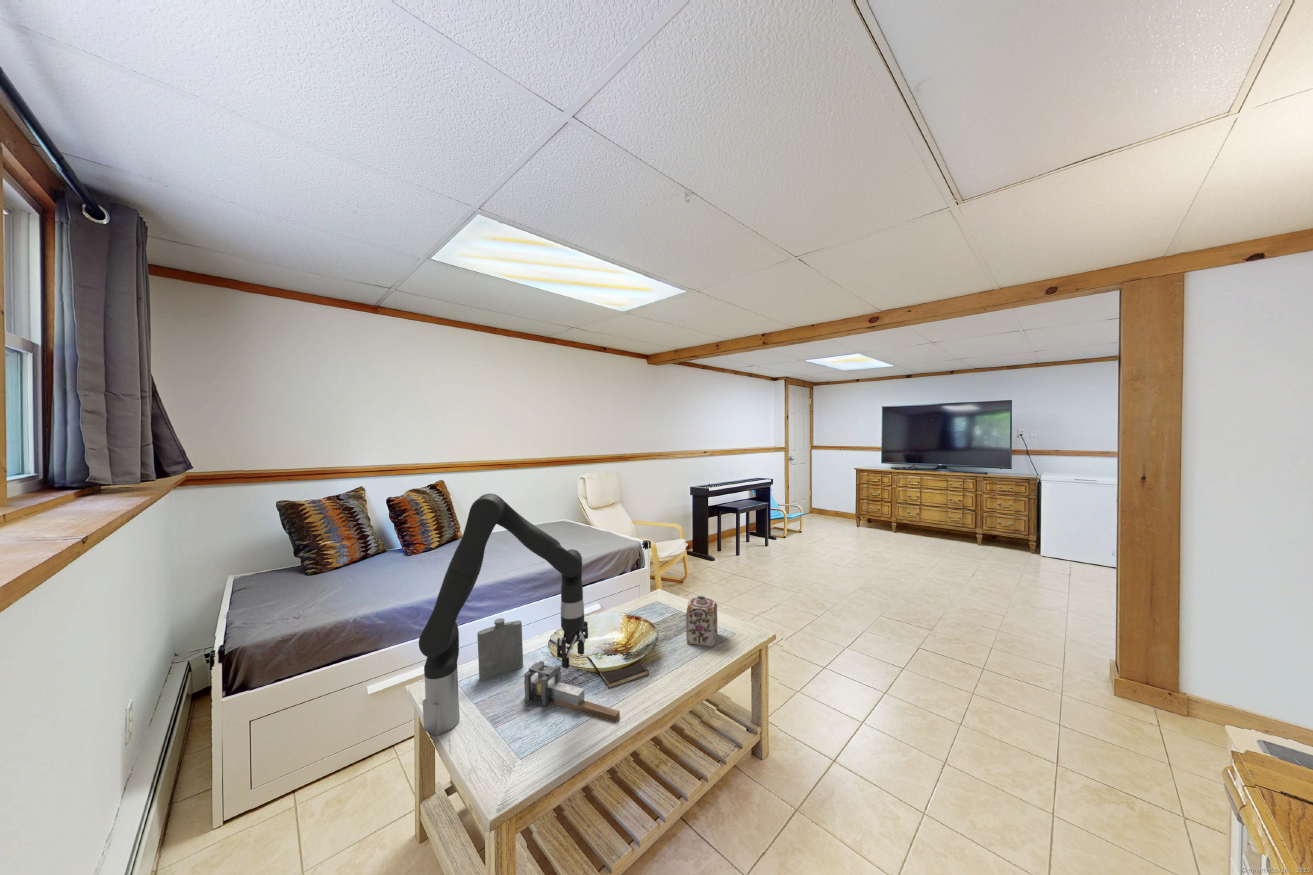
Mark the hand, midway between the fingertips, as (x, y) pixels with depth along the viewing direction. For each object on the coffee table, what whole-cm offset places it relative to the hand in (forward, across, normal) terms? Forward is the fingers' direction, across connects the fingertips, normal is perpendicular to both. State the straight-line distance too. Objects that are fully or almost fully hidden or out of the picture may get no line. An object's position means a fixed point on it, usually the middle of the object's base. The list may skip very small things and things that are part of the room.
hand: (573, 660), depth 138 cm
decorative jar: (+16, +56, -27) cm, 64 cm away
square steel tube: (+14, 0, +8) cm, 16 cm away
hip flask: (+16, +6, +37) cm, 41 cm away
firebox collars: (+16, 0, +13) cm, 20 cm away
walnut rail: (+16, 0, -4) cm, 16 cm away
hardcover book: (+16, +26, -1) cm, 31 cm away
